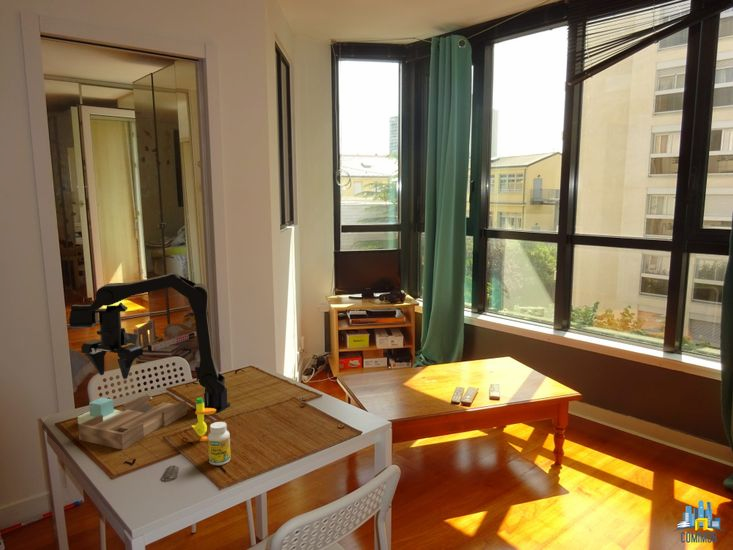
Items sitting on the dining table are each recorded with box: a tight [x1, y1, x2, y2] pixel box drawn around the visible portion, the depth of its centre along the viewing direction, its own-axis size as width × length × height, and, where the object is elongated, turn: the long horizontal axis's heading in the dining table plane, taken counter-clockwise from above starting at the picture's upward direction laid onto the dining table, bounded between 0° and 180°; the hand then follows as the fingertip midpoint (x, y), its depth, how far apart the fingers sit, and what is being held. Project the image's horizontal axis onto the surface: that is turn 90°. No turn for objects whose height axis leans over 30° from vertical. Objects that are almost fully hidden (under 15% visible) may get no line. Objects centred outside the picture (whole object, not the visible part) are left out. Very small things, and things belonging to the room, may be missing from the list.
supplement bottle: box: [207, 421, 232, 466], centre depth 131 cm, size 5×5×10 cm
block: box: [88, 397, 115, 417], centre depth 154 cm, size 4×4×4 cm
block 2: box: [160, 465, 180, 482], centre depth 125 cm, size 4×6×2 cm, turn 12°
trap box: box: [77, 393, 188, 451], centre depth 151 cm, size 16×25×4 cm, turn 159°
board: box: [77, 409, 123, 425], centre depth 155 cm, size 10×8×2 cm
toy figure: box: [191, 397, 217, 442], centre depth 142 cm, size 7×4×12 cm, turn 99°
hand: (113, 376), depth 157 cm, fingers open, 9 cm apart
